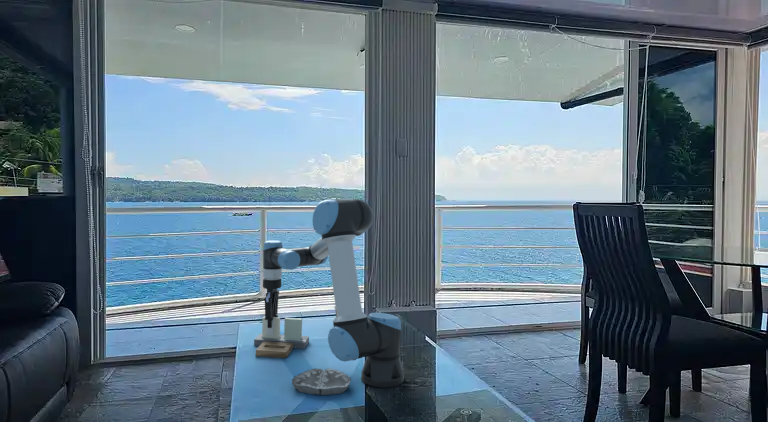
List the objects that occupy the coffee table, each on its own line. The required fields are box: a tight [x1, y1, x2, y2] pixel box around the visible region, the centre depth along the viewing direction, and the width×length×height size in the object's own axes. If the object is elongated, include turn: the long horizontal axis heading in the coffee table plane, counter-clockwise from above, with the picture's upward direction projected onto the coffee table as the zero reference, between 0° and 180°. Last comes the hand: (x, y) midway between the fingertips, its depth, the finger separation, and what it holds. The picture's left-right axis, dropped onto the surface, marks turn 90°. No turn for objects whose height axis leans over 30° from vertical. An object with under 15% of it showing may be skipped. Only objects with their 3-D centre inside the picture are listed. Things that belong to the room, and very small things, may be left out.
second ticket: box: [283, 317, 303, 340], centre depth 216 cm, size 2×7×11 cm, turn 85°
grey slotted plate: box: [253, 332, 310, 350], centre depth 217 cm, size 8×21×2 cm, turn 85°
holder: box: [255, 341, 294, 359], centre depth 207 cm, size 10×12×2 cm
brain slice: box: [291, 368, 352, 396], centre depth 177 cm, size 20×17×3 cm
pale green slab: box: [261, 315, 281, 339], centre depth 217 cm, size 2×7×11 cm, turn 85°
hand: (271, 333), depth 217 cm, fingers open, 2 cm apart
